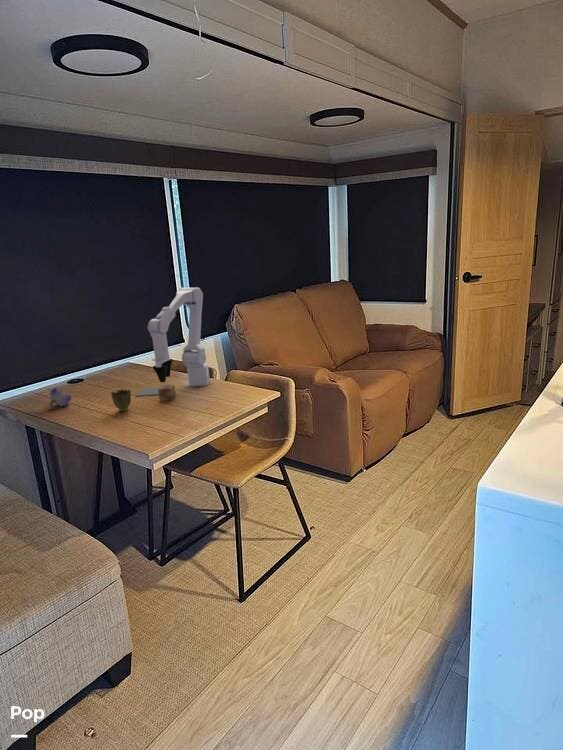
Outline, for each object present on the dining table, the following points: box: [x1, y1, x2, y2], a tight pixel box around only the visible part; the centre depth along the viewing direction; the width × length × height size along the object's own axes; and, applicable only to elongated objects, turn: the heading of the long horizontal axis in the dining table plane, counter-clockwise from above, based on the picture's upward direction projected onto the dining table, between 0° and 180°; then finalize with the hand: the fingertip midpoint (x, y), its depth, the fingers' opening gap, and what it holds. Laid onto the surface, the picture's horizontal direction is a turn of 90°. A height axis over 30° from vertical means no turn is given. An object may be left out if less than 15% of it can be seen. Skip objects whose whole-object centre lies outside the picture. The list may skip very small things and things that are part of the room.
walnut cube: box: [158, 383, 177, 402], centre depth 204 cm, size 6×6×6 cm
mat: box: [135, 386, 160, 397], centre depth 215 cm, size 11×11×1 cm
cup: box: [110, 388, 132, 413], centre depth 192 cm, size 8×7×8 cm
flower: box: [48, 386, 72, 411], centre depth 202 cm, size 9×9×10 cm
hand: (165, 379), depth 202 cm, fingers open, 7 cm apart
